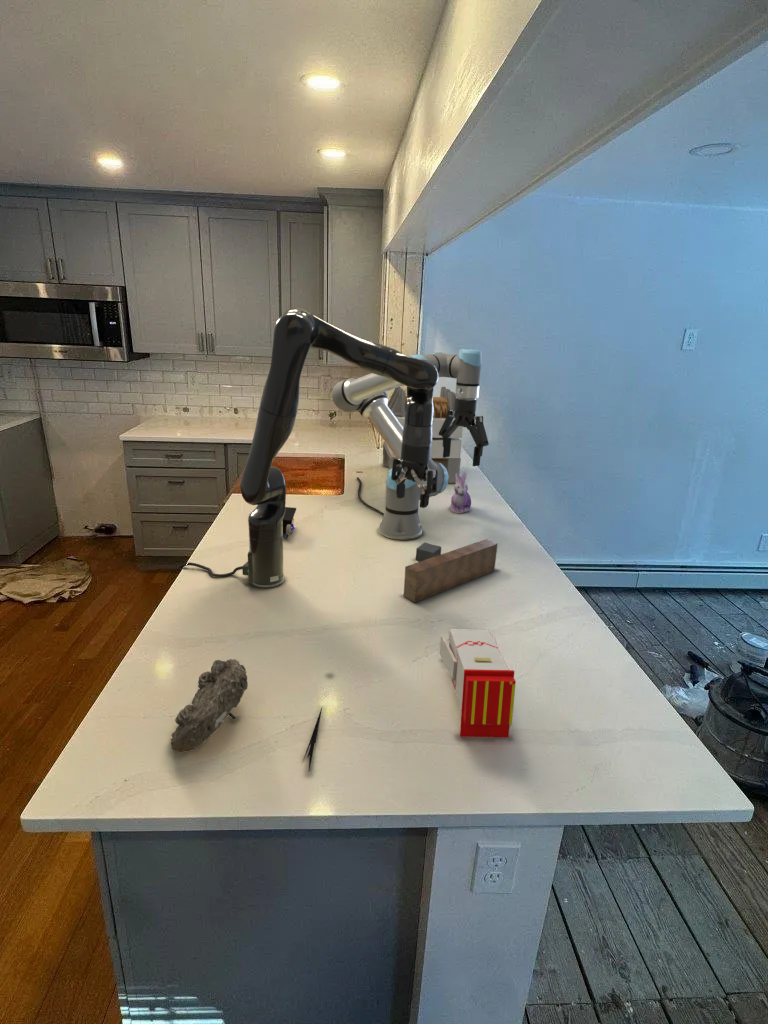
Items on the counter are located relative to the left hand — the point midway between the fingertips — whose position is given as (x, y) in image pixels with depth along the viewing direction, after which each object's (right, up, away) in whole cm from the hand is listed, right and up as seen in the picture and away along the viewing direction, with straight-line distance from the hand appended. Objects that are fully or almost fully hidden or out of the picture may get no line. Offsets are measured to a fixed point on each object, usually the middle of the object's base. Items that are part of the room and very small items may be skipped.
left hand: (411, 502), depth 148 cm
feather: (-20, -42, -39) cm, 61 cm away
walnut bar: (+13, -23, +18) cm, 32 cm away
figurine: (+23, -2, +79) cm, 82 cm away
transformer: (+10, +16, +127) cm, 128 cm away
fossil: (-39, -42, -40) cm, 70 cm away
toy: (+11, -40, -29) cm, 51 cm away
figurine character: (-41, -10, +48) cm, 64 cm away
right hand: (+19, +15, +45) cm, 51 cm away
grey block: (+7, -18, +33) cm, 38 cm away
